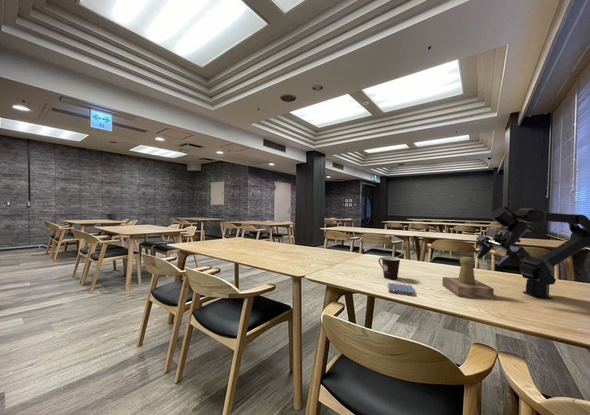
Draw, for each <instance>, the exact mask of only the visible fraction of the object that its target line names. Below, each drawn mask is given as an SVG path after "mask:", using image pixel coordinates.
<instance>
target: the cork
mask: <svg viewBox="0 0 590 415" xmlns="http://www.w3.org/2000/svg"><path fill="white" fill-rule="evenodd" d="M475 262H476V261H475V258H473V257H470V256H461V257H460V259H459V263H460V267H459V268H460V270H459V274H458V278H459V279H458V282H460V283H463V284H467V285H475V280H476V278H475V270H474V266H475Z"/></svg>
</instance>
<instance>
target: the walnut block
mask: <svg viewBox="0 0 590 415" xmlns="http://www.w3.org/2000/svg"><path fill="white" fill-rule="evenodd" d="M458 279H459V277H448V276H442V287H444V288H445V289H447V290H449V291H450V292H451V293H453V294H454V295H455V296H457V297H461V298H475V299H476V298H479V299H494V294H495V293H494V290H495V289H494V288H493V287H491V286H489V285H487V284H485V283H484V282H482V281H479V280H477V279H475V285H467V284H463V283H460V282H458Z"/></svg>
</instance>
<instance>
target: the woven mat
mask: <svg viewBox="0 0 590 415" xmlns="http://www.w3.org/2000/svg"><path fill="white" fill-rule="evenodd" d="M387 288H388V289H387V290H388V292H387V293H389V294H395V293H397V294H396V295H402V294H403V295H404V296H411V297H412V296H413V297H416V294H415V290H414V288H413V286H412V285H410V284H408V285H407V284H405V283H404V284H402V283H393V282H388V283H387ZM393 290H394V291H393Z"/></svg>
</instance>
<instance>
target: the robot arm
mask: <svg viewBox="0 0 590 415" xmlns="http://www.w3.org/2000/svg"><path fill="white" fill-rule="evenodd" d="M489 217H490V218H491V219H492V220H493V221H495V222H496V223H497V224H499V225H500V226H501V227H505V229H503V230H502V229H500V230H495V229H492V228H488V229H487V232H486V234H485V235H482V234H479V235H478V236H477V237H476V238H475V239H476V241H477V243H479V249H478V252H477V256H476V258H477V259H479V260H480V259H481V258H483V257H484V256H485V255H486V254H487V253H489V252H490V251H491V250H492V248H494V247H495V248H498V249H501V250H504V251H505V255H504V256H503V257H502V258H501V259H500V260H499V262H498V264H497V265H496V266H497V267H498V268H502V267H504V266H507V265H509V264H512V263H516V262H519V261H521V263H520V264H519V272H520V274H521V276H522V277H523V279H526V283H525V291H524V290H522V293H523V294H525V295H528V296H531V297H534V298H536V299H554V297H553V296H551V295H550V286H551V285H555V283H556V281H557V280H556V278H555V277H554V276H553V275H552V272H553V268H554V267H555V266H557V265H558V264H560V263H561V262H563V261H565V260H567V259H569V258H570V257H572V256H573V255H575V254H576V253H579V252H580V251H581V250H583V249H585V248H589V247H590V218H588V216H587V215H584V214H576V213H574V214H573V213H572V214H571V213H557V212H547V211H545V210H542V209H537V208H519V209H517V211H514V212H513V211H512V210H511V209H509V207H507V205H506V206H505V205H504V206H503V205H502V206H500V207H498V208H497V209H495V210H494V211H492V212H491V213H490V216H489ZM546 222H549V223H550V222H553V223H564V224H565V223H567V224H568V228H569V231H570V233H571V234H570V236H569V239H568V240H566V241H565V242H563V243H561V244H560V245H558V246H556V247H554V249H551V250H550V251H548V252H546V253H545V254H544V255H542V256H540V257H536V256H531V254H530V252H529V251H527V250H526V248H525V247H523V246H521V245H516V243H517V244H520V243H521V240H520V239H521V238H522V236H523V235H525V233H527V232H529V233H533V232H534V228H533V225H531V224H532V223H533V224H537V223H539V224H540V223H546ZM527 223H531V224H527ZM490 237H491V238H490Z"/></svg>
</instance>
